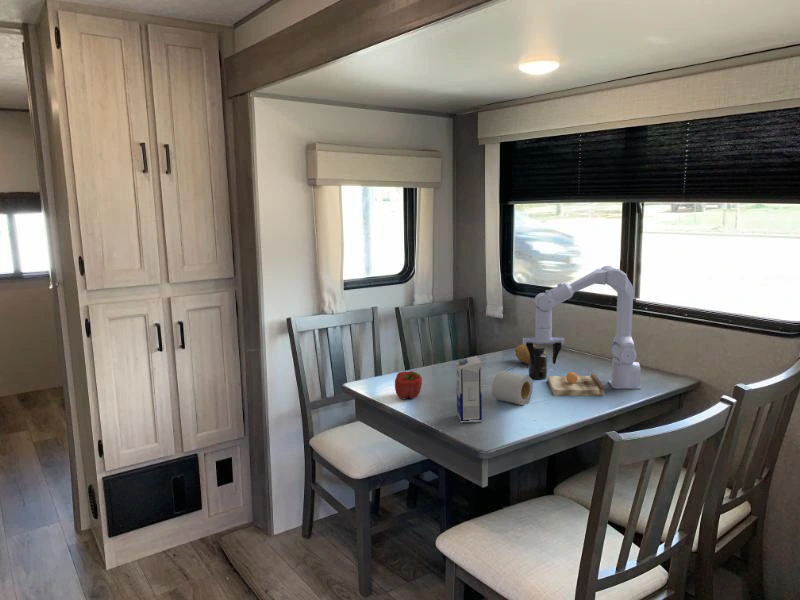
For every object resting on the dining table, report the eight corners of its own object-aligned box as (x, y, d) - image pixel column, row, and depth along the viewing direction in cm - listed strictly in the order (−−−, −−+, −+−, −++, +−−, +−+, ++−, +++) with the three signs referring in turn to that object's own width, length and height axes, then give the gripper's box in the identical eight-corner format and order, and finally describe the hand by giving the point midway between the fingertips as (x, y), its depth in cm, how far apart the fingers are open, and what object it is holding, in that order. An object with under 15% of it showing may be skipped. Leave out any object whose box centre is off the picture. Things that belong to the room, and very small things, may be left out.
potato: (524, 358, 254) (524, 340, 253) (550, 365, 243) (551, 346, 242) (509, 362, 249) (509, 344, 247) (535, 369, 238) (535, 350, 236)
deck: (595, 381, 221) (595, 372, 221) (605, 395, 206) (605, 386, 205) (547, 381, 223) (547, 373, 223) (554, 395, 207) (554, 386, 207)
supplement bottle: (547, 380, 224) (547, 349, 222) (528, 379, 226) (529, 349, 224) (546, 374, 231) (546, 345, 229) (528, 374, 232) (528, 344, 230)
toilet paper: (532, 400, 204) (532, 372, 202) (518, 409, 196) (518, 380, 194) (506, 394, 210) (506, 367, 208) (492, 402, 203) (492, 375, 201)
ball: (576, 381, 216) (576, 370, 215) (578, 384, 212) (578, 373, 211) (565, 381, 216) (565, 370, 216) (567, 384, 212) (567, 373, 212)
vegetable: (430, 397, 211) (429, 370, 209) (410, 404, 203) (409, 377, 202) (408, 390, 218) (407, 364, 216) (388, 397, 211) (387, 371, 209)
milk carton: (482, 422, 186) (481, 361, 182) (460, 423, 185) (459, 362, 182) (477, 414, 193) (476, 355, 189) (456, 415, 192) (455, 356, 189)
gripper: (562, 324, 215) (561, 360, 217) (521, 324, 216) (521, 360, 219) (565, 328, 208) (565, 365, 210) (523, 328, 209) (523, 365, 212)
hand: (543, 363), depth 214 cm, fingers open, 7 cm apart
